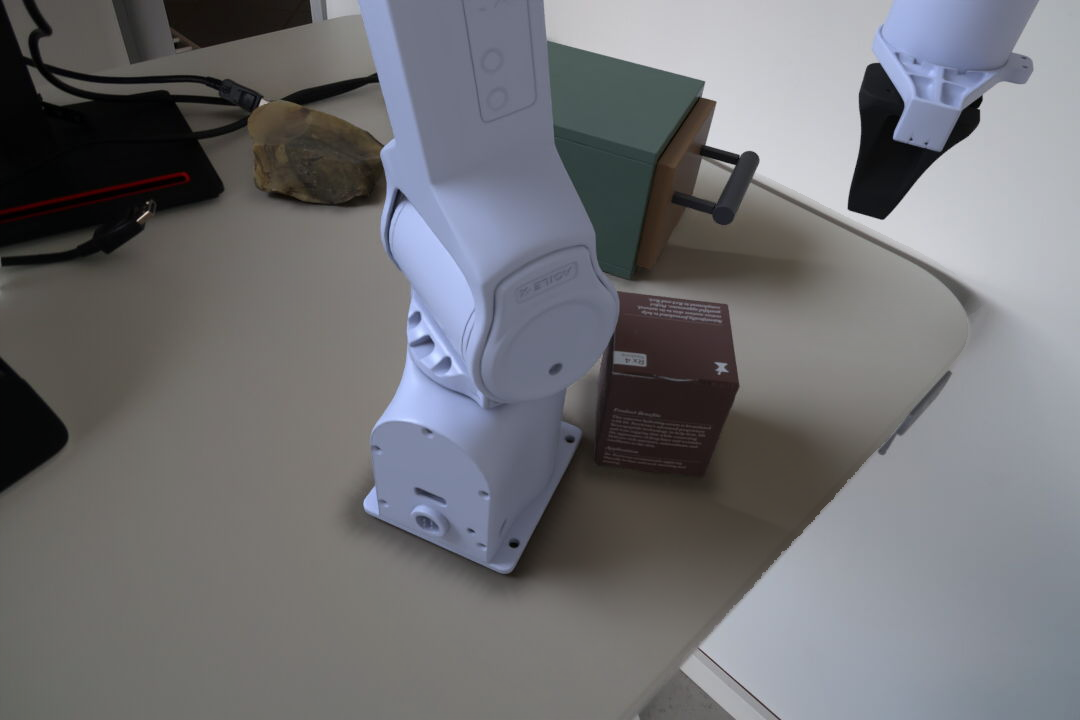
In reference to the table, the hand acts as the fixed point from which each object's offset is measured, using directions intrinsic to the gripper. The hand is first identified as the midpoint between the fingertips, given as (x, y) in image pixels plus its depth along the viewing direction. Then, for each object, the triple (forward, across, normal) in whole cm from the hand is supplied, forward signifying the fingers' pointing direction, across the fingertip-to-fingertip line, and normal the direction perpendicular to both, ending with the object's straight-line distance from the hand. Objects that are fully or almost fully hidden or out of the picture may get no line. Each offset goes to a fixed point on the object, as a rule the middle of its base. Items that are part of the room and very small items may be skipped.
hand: (866, 209), depth 41 cm
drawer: (+8, +5, +15) cm, 18 cm away
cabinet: (+9, +5, +19) cm, 22 cm away
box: (+10, -13, +7) cm, 18 cm away
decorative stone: (+10, 0, +38) cm, 39 cm away
